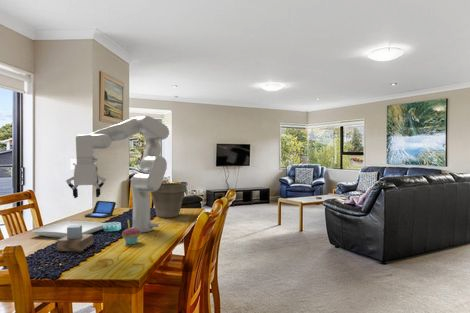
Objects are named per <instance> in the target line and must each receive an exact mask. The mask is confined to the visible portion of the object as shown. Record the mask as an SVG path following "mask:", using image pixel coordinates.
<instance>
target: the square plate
mask: <svg viewBox="0 0 470 313" xmlns="http://www.w3.org/2000/svg"><path fill="white" fill-rule="evenodd" d="M106 223H107V222H99V221H98V222H97V221H87V220H86V221H84V220H66V221H62V222H58V223H54V224H50V225H47V226H43V227H41V228H37V229H33V230H31V233H33V234H34V235H35V236H36V235H37V236H42V237H43V236H44V237H47V238H59V239H61V238H63V237H65V236H67V227H69V226H70V225H82V234H92V233H95V232H98V231H101V230H103V229H104V228H103V224H106Z"/></svg>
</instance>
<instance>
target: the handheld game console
mask: <svg viewBox="0 0 470 313" xmlns="http://www.w3.org/2000/svg"><path fill="white" fill-rule="evenodd" d="M116 205H117V202H116V201H107V200H106V201H105V200H97V201H96V203H95V205H94V206H93V207H94V208H93V211H92V212H91V213H87V214H84V218H95V219H107V218H110V217H113V213H114V210H115V207H116Z"/></svg>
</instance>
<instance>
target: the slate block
mask: <svg viewBox="0 0 470 313" xmlns="http://www.w3.org/2000/svg"><path fill="white" fill-rule="evenodd" d="M81 236H82V225H70V226H69V227H67V239H77V238H80V237H81Z"/></svg>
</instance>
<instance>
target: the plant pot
mask: <svg viewBox="0 0 470 313" xmlns="http://www.w3.org/2000/svg"><path fill="white" fill-rule="evenodd" d="M186 191H187V183H181V182H162V183H161V186H160V187H159V189H158V190H157V191H154V192H150V196H151V198H152V203H153V205H154V211H155V214H156V216H157V217H158V218H166V219H167V218H175V217H179V216H180V211H181V209H182V208H181V207H182V204H183V202H184V201H183V200H184V197H185V193H186Z"/></svg>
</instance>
